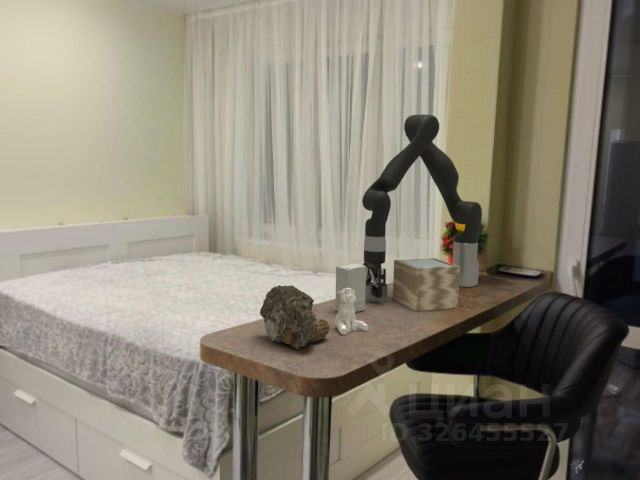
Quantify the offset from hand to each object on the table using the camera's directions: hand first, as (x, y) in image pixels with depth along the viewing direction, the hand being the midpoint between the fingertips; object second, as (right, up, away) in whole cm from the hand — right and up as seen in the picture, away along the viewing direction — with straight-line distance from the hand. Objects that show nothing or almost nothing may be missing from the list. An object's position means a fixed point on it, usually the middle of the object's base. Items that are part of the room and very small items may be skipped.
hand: (373, 294), depth 182 cm
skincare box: (-9, -4, -14) cm, 17 cm away
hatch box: (+17, -3, -3) cm, 18 cm away
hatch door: (+17, +10, -5) cm, 21 cm away
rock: (-24, -8, -45) cm, 52 cm away
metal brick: (0, -2, 0) cm, 2 cm away
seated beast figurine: (-11, -7, -33) cm, 36 cm away
